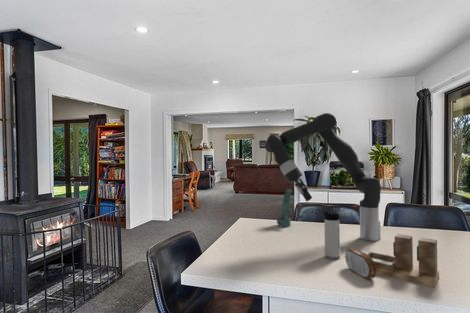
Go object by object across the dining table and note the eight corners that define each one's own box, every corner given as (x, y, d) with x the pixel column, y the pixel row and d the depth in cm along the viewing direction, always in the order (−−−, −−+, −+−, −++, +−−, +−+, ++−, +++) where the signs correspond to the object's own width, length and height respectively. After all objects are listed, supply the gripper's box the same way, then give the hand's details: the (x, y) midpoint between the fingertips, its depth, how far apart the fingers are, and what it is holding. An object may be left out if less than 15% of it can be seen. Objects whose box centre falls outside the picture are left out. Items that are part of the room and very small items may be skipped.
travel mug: (321, 255, 126) (321, 210, 126) (336, 254, 127) (335, 210, 127) (327, 259, 120) (327, 213, 120) (342, 259, 120) (341, 212, 121)
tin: (377, 282, 98) (376, 258, 98) (369, 283, 97) (369, 258, 97) (350, 266, 113) (350, 245, 113) (343, 267, 112) (343, 245, 112)
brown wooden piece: (361, 268, 110) (360, 233, 110) (370, 261, 118) (369, 227, 118) (434, 287, 94) (433, 245, 94) (439, 276, 102) (438, 238, 102)
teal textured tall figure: (289, 232, 172) (302, 193, 173) (273, 225, 174) (286, 188, 175) (289, 229, 186) (301, 193, 187) (274, 223, 188) (286, 188, 189)
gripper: (298, 164, 130) (318, 194, 125) (296, 169, 143) (314, 197, 139) (284, 172, 130) (303, 203, 126) (284, 177, 144) (301, 204, 139)
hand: (309, 199), depth 132 cm, fingers open, 8 cm apart
